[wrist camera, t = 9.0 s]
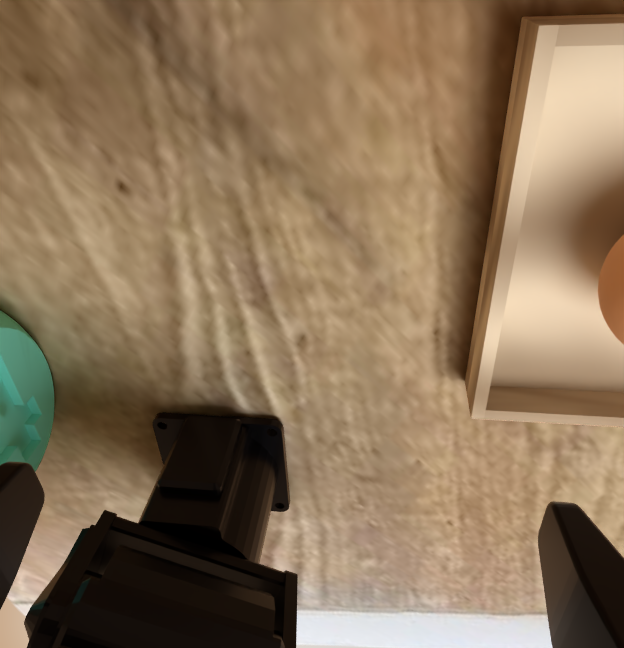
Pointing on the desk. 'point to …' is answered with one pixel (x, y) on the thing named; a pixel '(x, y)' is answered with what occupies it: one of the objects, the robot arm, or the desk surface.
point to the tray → (554, 232)
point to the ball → (613, 289)
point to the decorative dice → (23, 396)
